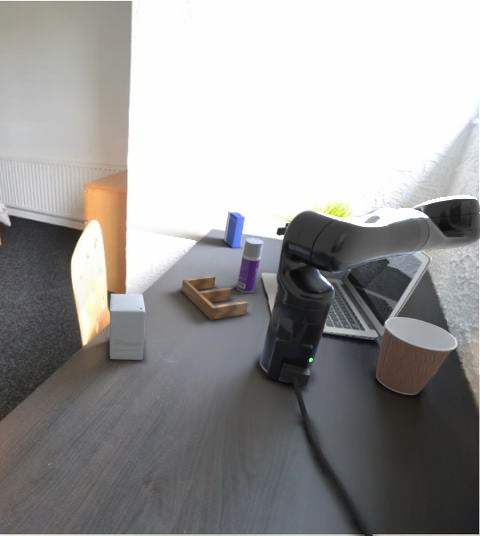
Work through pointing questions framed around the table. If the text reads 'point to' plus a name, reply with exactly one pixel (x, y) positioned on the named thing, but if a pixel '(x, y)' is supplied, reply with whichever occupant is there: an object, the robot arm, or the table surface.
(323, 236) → the robot arm
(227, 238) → the walkman
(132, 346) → the white packaging box
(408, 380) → the coffee cup
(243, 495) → the table surface
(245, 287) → the container
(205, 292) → the caddy
